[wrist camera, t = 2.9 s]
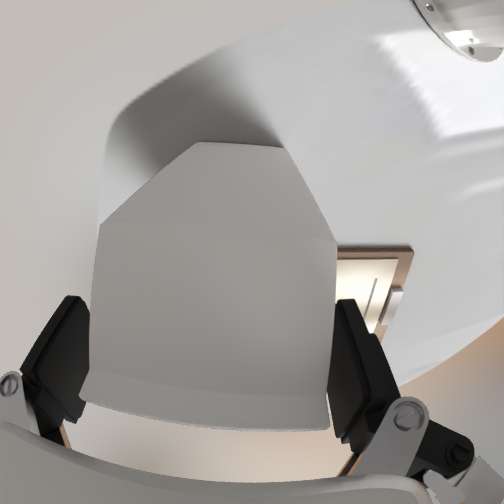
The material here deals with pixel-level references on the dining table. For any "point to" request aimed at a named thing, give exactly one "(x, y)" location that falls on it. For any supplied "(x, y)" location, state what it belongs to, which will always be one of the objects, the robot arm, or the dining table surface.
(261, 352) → the milk carton
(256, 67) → the dining table surface
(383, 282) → the clipboard
